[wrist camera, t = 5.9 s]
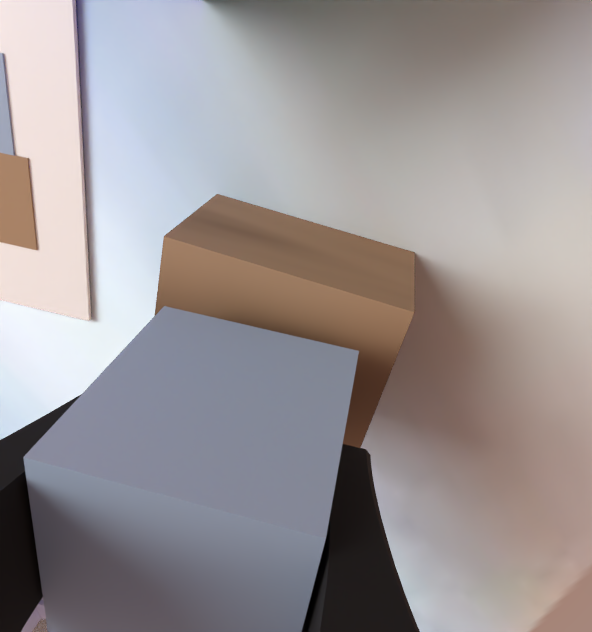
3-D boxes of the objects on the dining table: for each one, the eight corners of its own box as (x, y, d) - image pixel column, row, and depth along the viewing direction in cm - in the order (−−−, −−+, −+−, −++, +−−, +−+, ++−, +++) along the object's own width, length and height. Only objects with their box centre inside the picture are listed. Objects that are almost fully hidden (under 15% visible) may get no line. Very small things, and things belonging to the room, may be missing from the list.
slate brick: (324, 495, 14) (281, 705, 9) (160, 452, 14) (48, 634, 10) (359, 351, 12) (326, 539, 7) (164, 305, 12) (23, 457, 8)
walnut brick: (355, 406, 18) (341, 492, 15) (192, 354, 19) (142, 427, 15) (414, 250, 15) (414, 312, 12) (219, 192, 16) (163, 236, 12)
